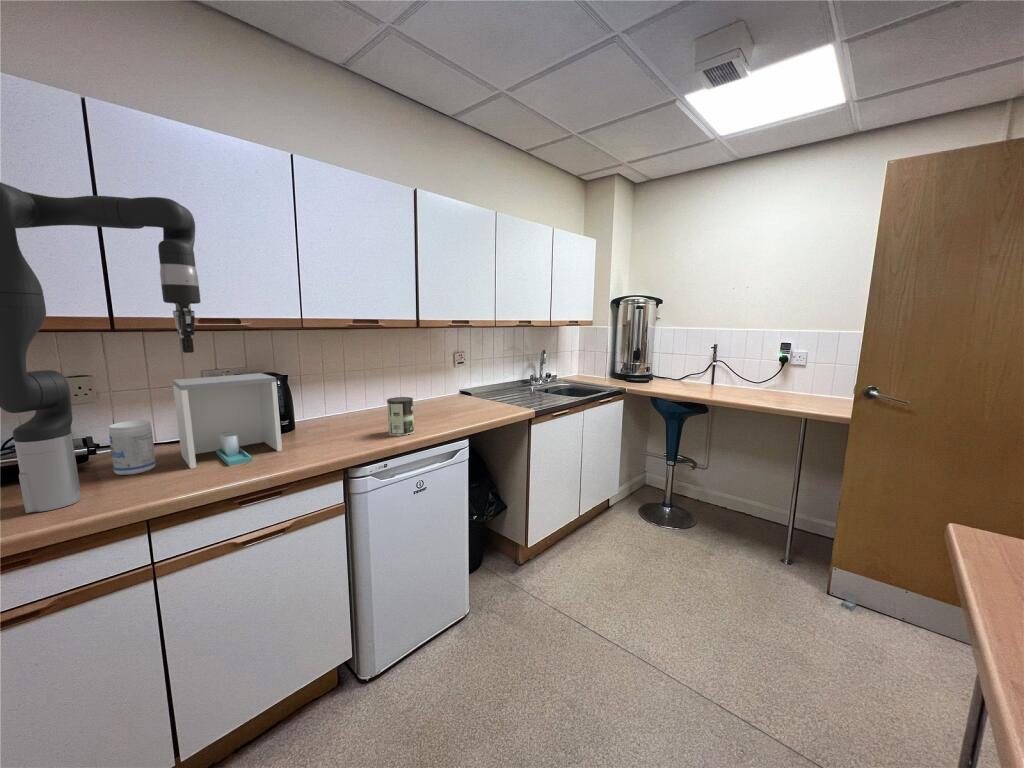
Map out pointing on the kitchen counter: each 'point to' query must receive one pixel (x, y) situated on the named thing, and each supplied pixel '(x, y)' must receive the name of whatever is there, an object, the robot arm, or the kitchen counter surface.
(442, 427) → the kitchen counter surface
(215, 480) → the kitchen counter surface
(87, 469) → the kitchen counter surface
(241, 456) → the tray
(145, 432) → the supplement tub
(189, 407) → the white shelf
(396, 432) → the coffee can
